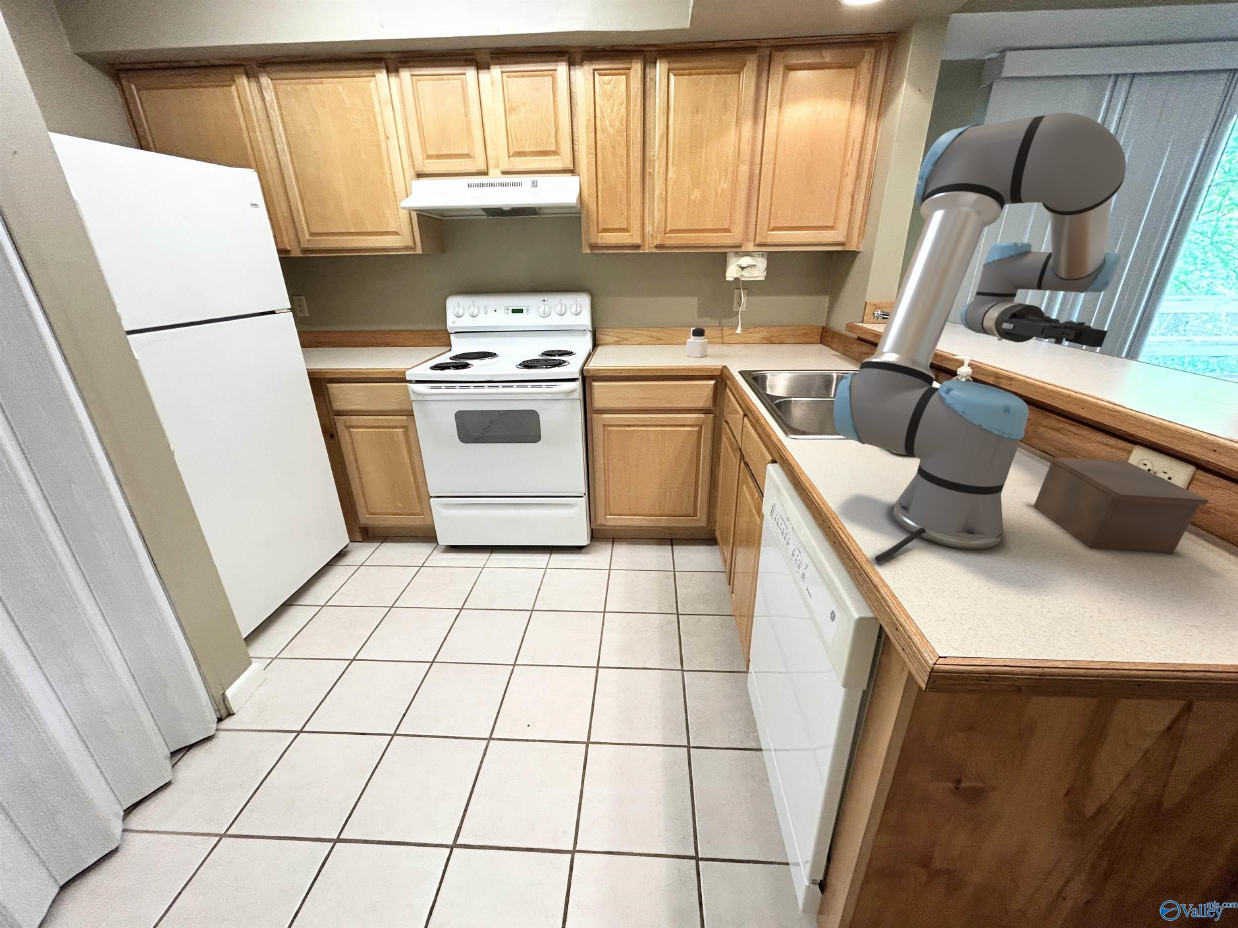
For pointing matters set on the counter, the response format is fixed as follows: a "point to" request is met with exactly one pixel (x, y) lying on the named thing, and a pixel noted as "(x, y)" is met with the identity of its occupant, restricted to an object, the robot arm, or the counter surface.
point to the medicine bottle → (697, 343)
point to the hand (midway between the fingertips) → (1099, 339)
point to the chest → (1111, 515)
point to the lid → (1128, 481)
